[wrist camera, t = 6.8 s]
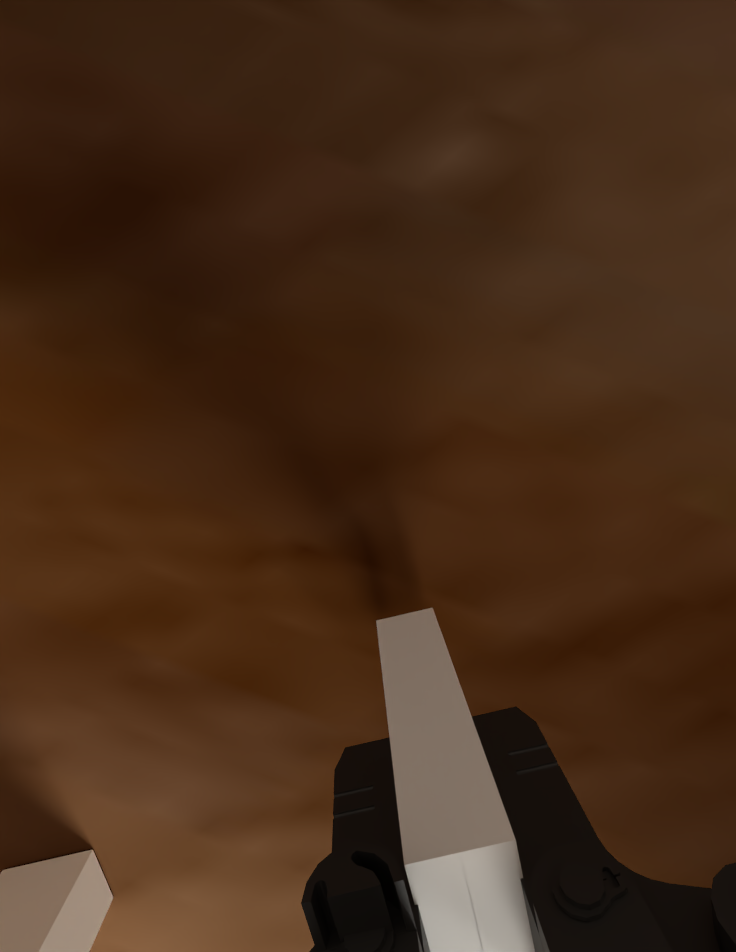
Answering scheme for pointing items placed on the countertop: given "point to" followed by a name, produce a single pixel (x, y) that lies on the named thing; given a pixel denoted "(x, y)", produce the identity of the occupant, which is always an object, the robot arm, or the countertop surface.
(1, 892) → the bridge
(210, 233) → the countertop surface
